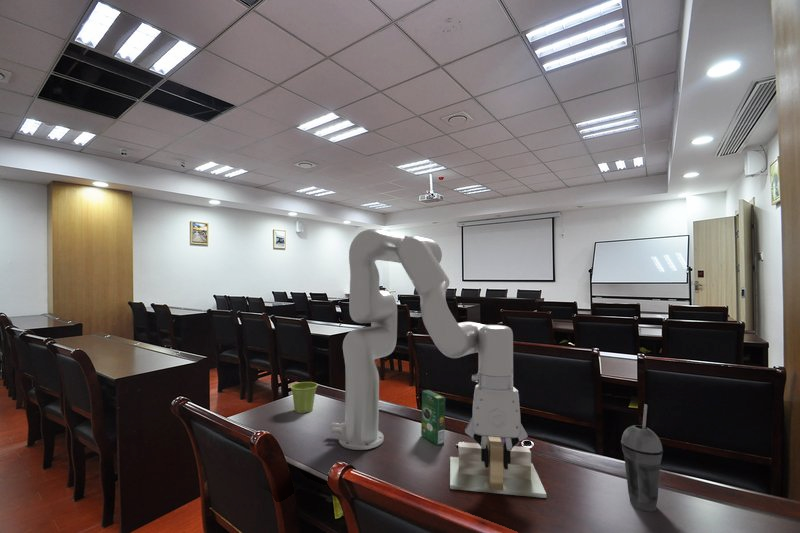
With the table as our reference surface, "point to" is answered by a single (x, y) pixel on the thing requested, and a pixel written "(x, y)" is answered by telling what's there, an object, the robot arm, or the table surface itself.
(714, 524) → the table surface
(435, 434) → the coffee box
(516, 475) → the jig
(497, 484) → the wooden block
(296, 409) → the plant pot
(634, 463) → the beverage cup
